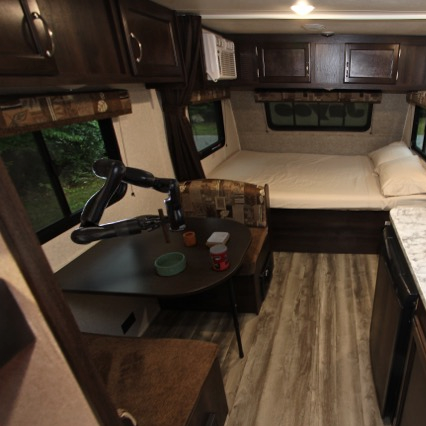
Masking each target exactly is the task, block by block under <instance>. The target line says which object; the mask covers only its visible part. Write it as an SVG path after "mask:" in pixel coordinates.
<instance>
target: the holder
mask: <svg viewBox="0 0 426 426" xmlns="http://www.w3.org/2000/svg"><path fill="white" fill-rule="evenodd" d="M183 240H184V244H185V245H184V246H187V247H190V246H194V245H196V244H197V238H196V233H195V232H194V231H187V232H184V233H183Z"/></svg>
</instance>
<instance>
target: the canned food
mask: <svg viewBox="0 0 426 426" xmlns="http://www.w3.org/2000/svg"><path fill="white" fill-rule="evenodd" d="M209 254H210V260H211V265H212V269H213V271H219V272H221V271H225V270H226V269H228V268H229V266H230V262H229V254H228V247H227V245H226V244H225V245H215V246H213V247H211V248H209Z"/></svg>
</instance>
